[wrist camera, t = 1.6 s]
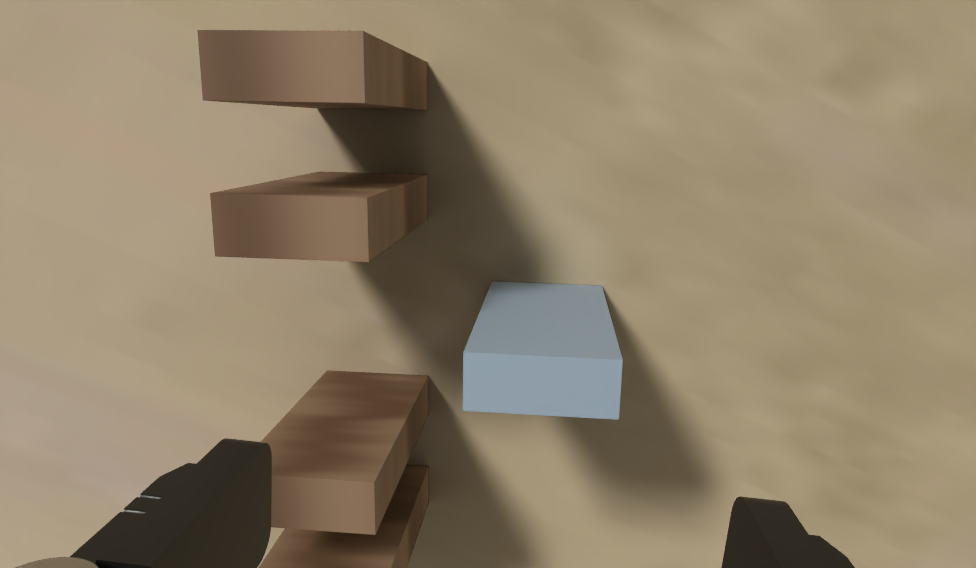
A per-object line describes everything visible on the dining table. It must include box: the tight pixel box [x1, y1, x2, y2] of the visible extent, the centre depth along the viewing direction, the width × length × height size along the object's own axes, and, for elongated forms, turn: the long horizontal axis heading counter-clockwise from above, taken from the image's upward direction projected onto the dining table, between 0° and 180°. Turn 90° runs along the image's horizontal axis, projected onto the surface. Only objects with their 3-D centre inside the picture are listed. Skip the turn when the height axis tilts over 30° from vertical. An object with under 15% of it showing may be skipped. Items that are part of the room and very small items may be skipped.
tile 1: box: [198, 30, 427, 110], centre depth 25 cm, size 5×2×10 cm, turn 89°
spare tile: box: [463, 281, 623, 420], centre depth 26 cm, size 5×2×10 cm, turn 89°
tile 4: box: [261, 371, 428, 535], centre depth 28 cm, size 5×2×10 cm, turn 89°
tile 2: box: [210, 172, 428, 262], centre depth 26 cm, size 5×2×10 cm, turn 89°
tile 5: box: [259, 465, 429, 568], centre depth 29 cm, size 5×2×10 cm, turn 89°
